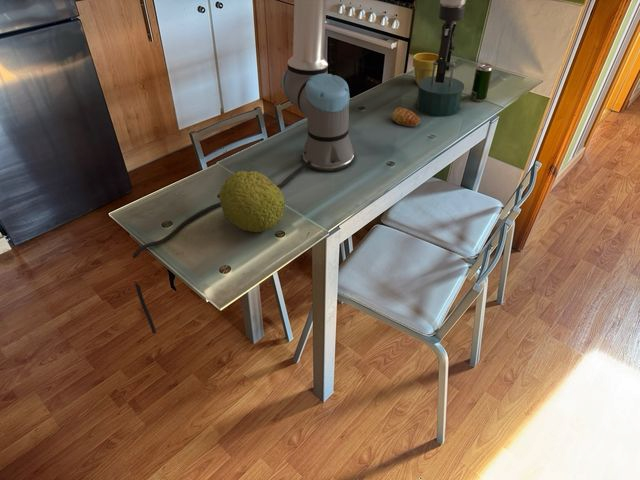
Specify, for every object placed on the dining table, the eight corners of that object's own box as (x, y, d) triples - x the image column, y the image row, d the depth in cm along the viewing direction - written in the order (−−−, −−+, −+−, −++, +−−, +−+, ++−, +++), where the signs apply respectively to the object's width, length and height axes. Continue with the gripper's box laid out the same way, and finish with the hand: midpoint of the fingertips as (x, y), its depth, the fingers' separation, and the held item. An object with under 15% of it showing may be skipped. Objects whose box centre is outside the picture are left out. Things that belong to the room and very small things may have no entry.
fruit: (298, 212, 119) (295, 184, 105) (262, 254, 115) (254, 231, 101) (250, 177, 123) (241, 146, 109) (213, 217, 119) (198, 189, 105)
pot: (455, 118, 157) (459, 97, 152) (413, 113, 161) (415, 92, 156) (461, 101, 168) (464, 80, 163) (421, 96, 172) (423, 76, 167)
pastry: (423, 123, 155) (425, 112, 153) (411, 130, 152) (412, 119, 149) (401, 114, 160) (402, 104, 158) (388, 121, 157) (389, 110, 154)
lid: (460, 99, 152) (465, 72, 147) (413, 94, 157) (416, 67, 151) (466, 82, 163) (470, 56, 158) (422, 77, 168) (425, 52, 162)
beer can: (479, 103, 166) (486, 69, 158) (467, 98, 169) (473, 65, 162) (489, 99, 168) (496, 65, 161) (477, 94, 172) (483, 61, 164)
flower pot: (422, 75, 187) (425, 50, 181) (443, 82, 181) (447, 56, 175) (405, 82, 182) (407, 56, 176) (425, 89, 176) (428, 63, 170)
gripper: (460, 15, 134) (448, 90, 148) (469, -4, 150) (458, 65, 165) (433, 14, 136) (424, 87, 150) (445, -6, 152) (436, 62, 167)
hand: (442, 75), depth 157 cm, fingers open, 11 cm apart
